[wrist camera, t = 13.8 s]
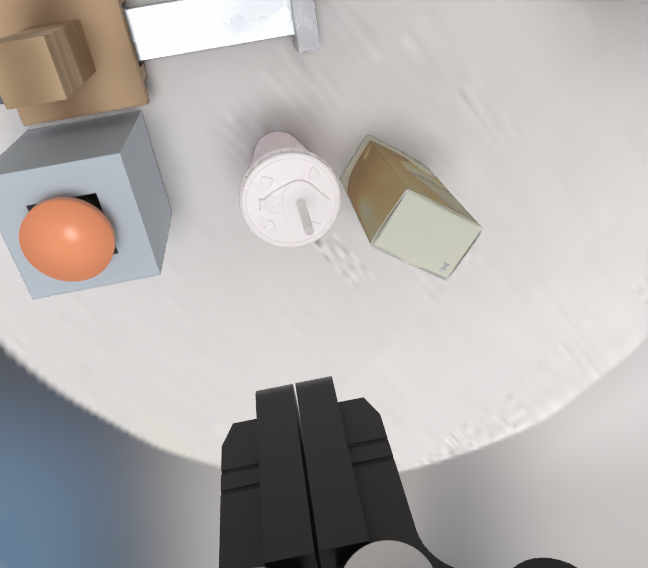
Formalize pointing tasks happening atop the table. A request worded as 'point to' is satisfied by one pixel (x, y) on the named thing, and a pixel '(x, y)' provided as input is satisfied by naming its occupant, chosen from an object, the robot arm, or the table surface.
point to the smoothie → (288, 192)
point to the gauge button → (68, 238)
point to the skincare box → (408, 209)
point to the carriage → (67, 59)
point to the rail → (218, 25)
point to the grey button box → (87, 178)
